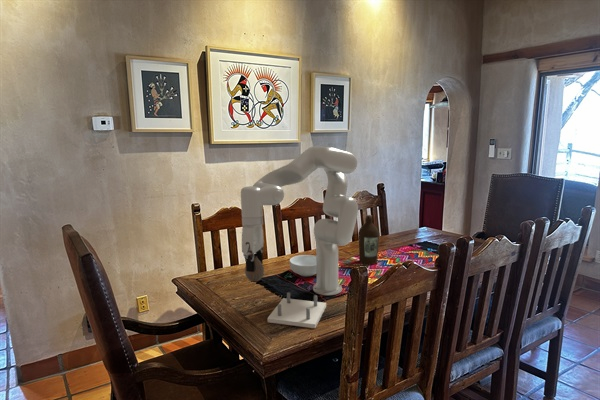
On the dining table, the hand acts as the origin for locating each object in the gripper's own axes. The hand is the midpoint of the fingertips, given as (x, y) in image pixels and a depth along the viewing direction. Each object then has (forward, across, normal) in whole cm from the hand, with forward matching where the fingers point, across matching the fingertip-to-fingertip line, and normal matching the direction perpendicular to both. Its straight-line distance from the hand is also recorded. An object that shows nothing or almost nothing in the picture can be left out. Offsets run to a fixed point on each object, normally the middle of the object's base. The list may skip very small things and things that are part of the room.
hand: (254, 267), depth 145 cm
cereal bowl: (+20, -48, +6) cm, 52 cm away
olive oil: (+20, -72, +34) cm, 82 cm away
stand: (+19, -6, +15) cm, 25 cm away
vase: (+5, 0, 0) cm, 5 cm away
